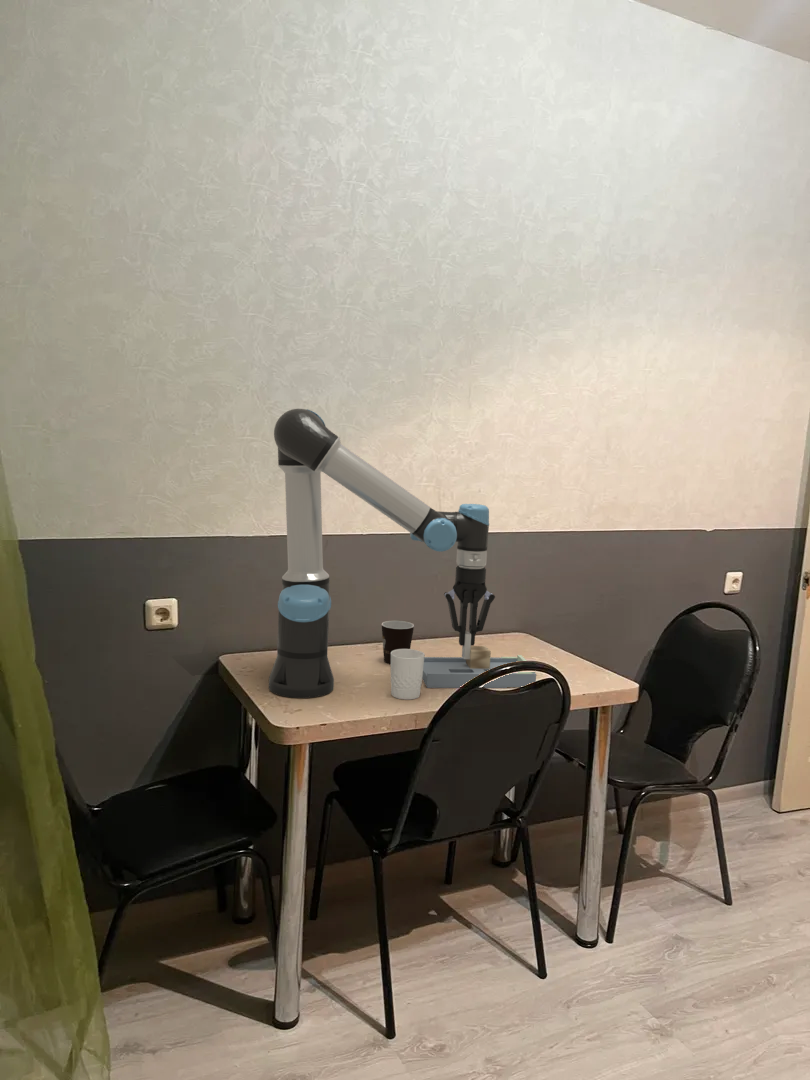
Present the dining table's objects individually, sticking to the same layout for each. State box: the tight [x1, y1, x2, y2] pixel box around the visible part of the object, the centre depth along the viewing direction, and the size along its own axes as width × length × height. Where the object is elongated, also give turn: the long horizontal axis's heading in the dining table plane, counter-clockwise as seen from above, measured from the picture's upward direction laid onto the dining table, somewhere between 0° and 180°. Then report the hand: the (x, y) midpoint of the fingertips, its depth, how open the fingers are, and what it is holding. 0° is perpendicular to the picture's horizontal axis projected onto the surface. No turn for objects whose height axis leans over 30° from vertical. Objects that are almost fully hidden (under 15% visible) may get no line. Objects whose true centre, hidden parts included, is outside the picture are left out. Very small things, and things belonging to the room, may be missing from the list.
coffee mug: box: [381, 620, 415, 665], centre depth 215 cm, size 12×9×10 cm
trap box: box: [422, 654, 537, 689], centre depth 203 cm, size 27×14×4 cm, turn 99°
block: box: [466, 645, 492, 669], centre depth 206 cm, size 5×5×4 cm
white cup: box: [390, 648, 426, 700], centre depth 188 cm, size 8×8×10 cm
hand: (465, 657), depth 205 cm, fingers closed
